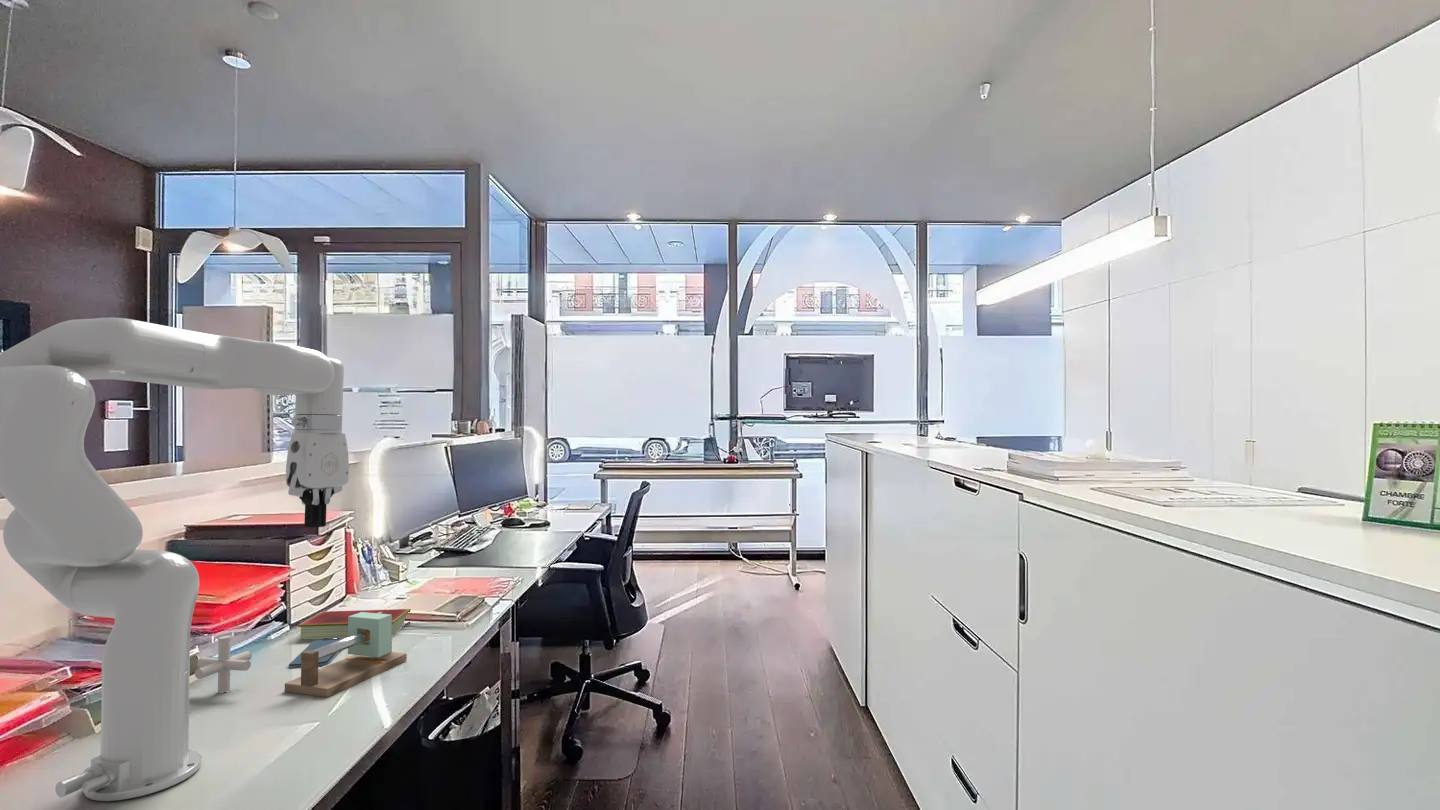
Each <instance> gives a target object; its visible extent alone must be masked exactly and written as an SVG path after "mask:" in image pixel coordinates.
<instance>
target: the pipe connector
mask: <svg viewBox="0 0 1440 810" xmlns="http://www.w3.org/2000/svg"><path fill="white" fill-rule="evenodd" d="M231 639H232V638H231V635H222V636H220V637H218V654H217V655H218V656H217V657H208V656H207V657H205V656H202V657H200V658H199V659H198V661H197V667H198V668H197V669H195V671H194V677H195V678H196V679H198V680H201V679H203V678H207V677H209V676H211V675H214V674H216V673H217V694H225V693H224V692H226V693H228V692H227V691H229V690H230V691H231V671H232V670H233V671H243V672H245V671H246V672H247V671H248V670H250V668H251V665H252V663H251V659H252V653H251V651H249V650H246V651H243V652H241V653H238V654H234V655H232V656H231V643H232V642H231ZM230 691H229V692H230Z"/></svg>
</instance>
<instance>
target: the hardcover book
mask: <svg viewBox="0 0 1440 810" xmlns="http://www.w3.org/2000/svg"><path fill="white" fill-rule="evenodd" d="M410 611H412V610H411V608H397V609H396V608H392V609H389V608H388V609H366V610H365V609H364V610H363V609H362V610H361V609H360V610H357V609H356V610H331V611H327V610H326V611H321V612H319V613H317V614H315V615H314V616H311V617H310V618H308V619H306V620H305V621H303V622H301V623H299V624H298V625H297V627H298V628H300V640H301V639H311V640H323V639H324V638H347V637H348V616H351V615H354V614H357V613H360V612H368V613H379V614H391V615H392V637H394V636H395V635H396V634H397V633H398V632H399V631H400V630H399V629H400V628H401V626H402V624H403V623H404V621H405V618H406V615H407V613H408V612H410ZM398 630H399V631H398ZM397 631H398V632H397ZM396 632H397V633H396ZM395 633H396V634H395ZM394 634H395V635H394Z"/></svg>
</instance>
